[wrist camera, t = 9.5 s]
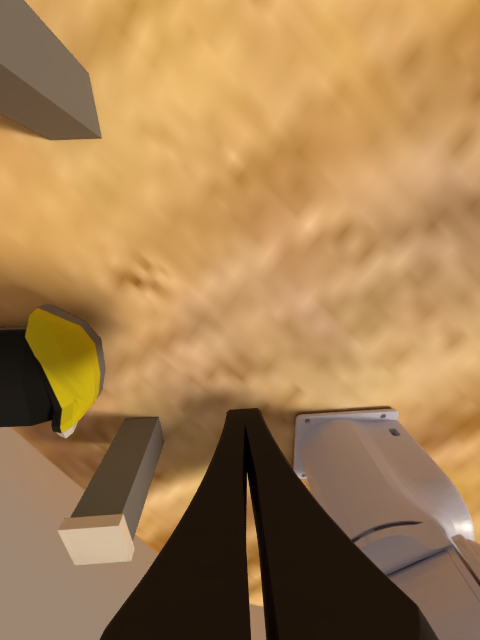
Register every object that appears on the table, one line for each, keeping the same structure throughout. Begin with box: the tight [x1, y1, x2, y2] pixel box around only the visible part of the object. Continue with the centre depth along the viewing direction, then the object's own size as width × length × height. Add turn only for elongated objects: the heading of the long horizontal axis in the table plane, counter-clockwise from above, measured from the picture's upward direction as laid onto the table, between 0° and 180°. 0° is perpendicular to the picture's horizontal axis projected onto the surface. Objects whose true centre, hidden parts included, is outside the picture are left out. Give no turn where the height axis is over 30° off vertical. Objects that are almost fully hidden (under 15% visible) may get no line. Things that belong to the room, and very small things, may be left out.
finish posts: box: [0, 0, 164, 565], centre depth 14 cm, size 3×27×9 cm, turn 2°
